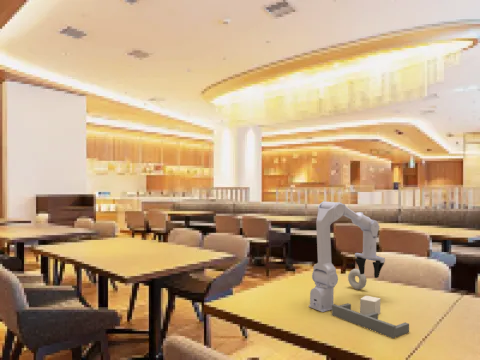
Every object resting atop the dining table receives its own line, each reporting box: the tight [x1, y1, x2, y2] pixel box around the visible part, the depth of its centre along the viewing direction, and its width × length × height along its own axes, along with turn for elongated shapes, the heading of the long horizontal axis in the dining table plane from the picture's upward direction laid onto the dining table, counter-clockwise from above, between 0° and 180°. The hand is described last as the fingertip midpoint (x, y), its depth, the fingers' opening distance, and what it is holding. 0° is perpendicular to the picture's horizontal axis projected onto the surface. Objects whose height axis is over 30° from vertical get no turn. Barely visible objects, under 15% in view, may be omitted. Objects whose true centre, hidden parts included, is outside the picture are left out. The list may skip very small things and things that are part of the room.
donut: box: [347, 268, 368, 291], centre depth 185 cm, size 10×4×10 cm, turn 36°
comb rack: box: [331, 302, 410, 339], centre depth 140 cm, size 10×26×4 cm, turn 35°
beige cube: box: [359, 295, 381, 316], centre depth 150 cm, size 6×6×6 cm
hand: (369, 275), depth 171 cm, fingers open, 7 cm apart
